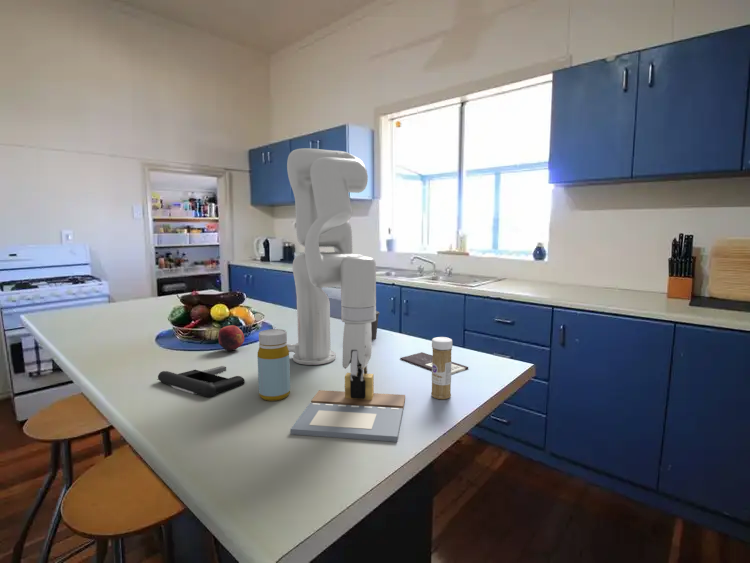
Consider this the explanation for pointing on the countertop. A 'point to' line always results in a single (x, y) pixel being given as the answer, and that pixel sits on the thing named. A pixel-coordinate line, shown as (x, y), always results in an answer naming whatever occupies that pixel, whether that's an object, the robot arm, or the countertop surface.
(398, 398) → the stub
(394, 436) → the ticket
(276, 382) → the bottle
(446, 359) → the sprinkles bottle
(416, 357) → the chocolate bar
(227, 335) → the fruit
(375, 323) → the coffee cup
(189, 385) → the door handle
